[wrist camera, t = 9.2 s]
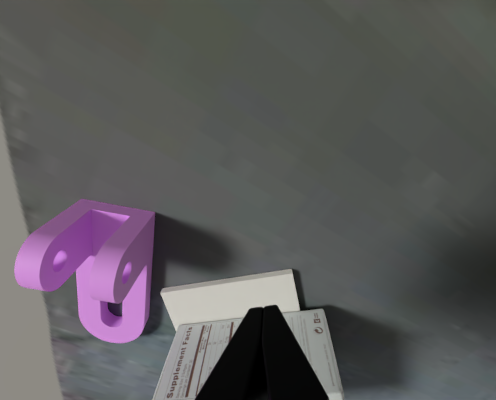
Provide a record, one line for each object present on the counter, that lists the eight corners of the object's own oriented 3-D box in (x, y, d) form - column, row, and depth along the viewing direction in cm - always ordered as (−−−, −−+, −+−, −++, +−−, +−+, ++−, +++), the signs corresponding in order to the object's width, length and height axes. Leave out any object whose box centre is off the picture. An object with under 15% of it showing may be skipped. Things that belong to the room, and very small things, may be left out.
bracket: (82, 197, 22) (10, 248, 16) (156, 211, 23) (113, 266, 16) (88, 324, 28) (35, 400, 21) (148, 335, 28) (113, 413, 21)
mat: (291, 268, 24) (292, 273, 23) (315, 386, 29) (316, 392, 28) (162, 288, 25) (160, 293, 25) (207, 396, 30) (206, 402, 30)
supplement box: (355, 466, 20) (179, 475, 22) (333, 366, 27) (200, 379, 29) (345, 395, 17) (144, 412, 19) (323, 304, 24) (176, 323, 26)
